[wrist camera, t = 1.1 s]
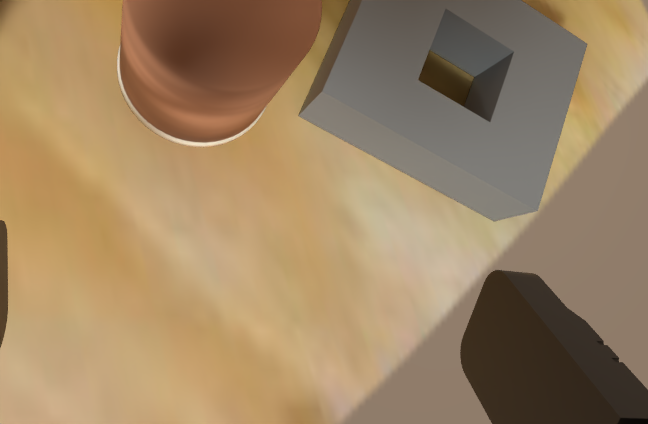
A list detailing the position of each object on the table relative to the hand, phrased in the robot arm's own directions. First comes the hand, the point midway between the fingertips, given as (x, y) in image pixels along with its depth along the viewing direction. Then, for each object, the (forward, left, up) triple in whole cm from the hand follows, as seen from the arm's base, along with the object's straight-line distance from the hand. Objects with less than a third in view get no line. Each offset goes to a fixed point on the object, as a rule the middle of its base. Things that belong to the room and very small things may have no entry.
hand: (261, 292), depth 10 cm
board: (+8, +16, -17) cm, 25 cm away
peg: (-3, +9, -17) cm, 19 cm away
